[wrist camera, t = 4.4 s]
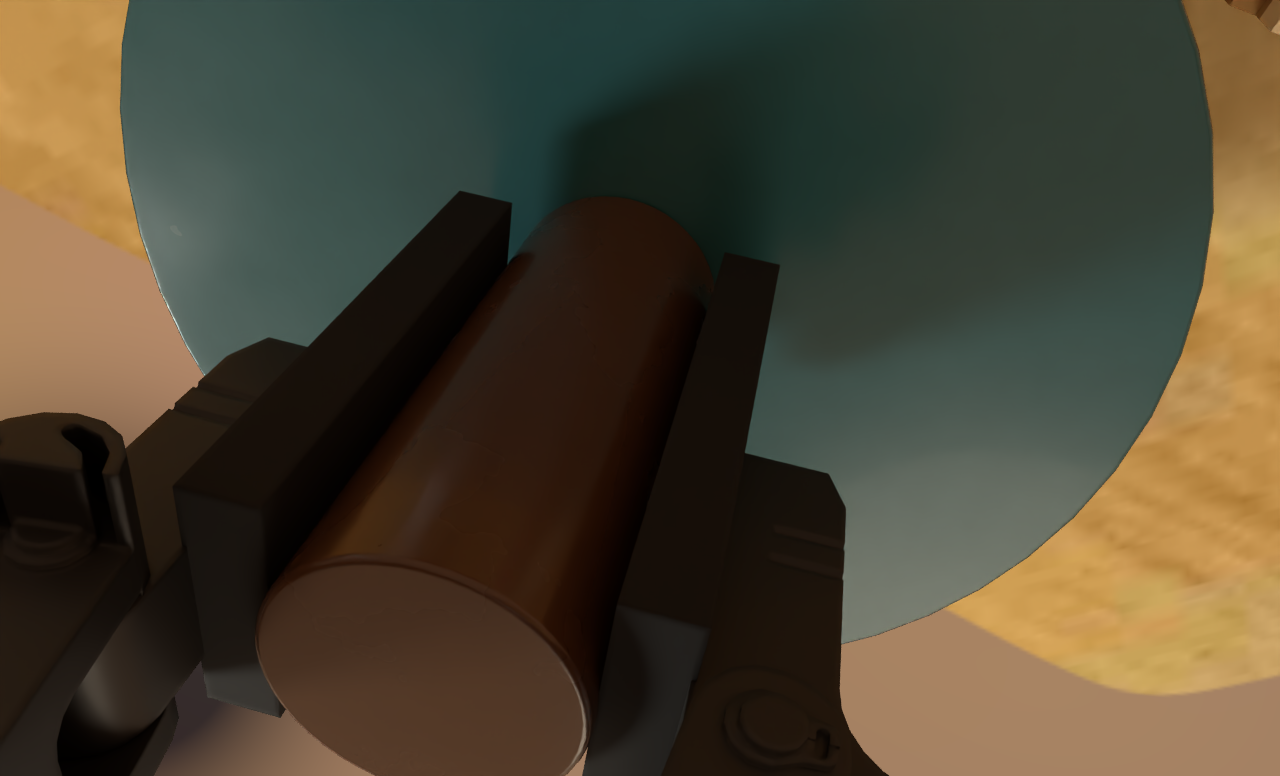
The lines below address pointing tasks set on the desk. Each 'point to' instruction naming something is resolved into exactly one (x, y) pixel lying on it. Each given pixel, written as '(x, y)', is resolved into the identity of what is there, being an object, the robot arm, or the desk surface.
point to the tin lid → (670, 300)
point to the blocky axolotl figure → (1261, 11)
